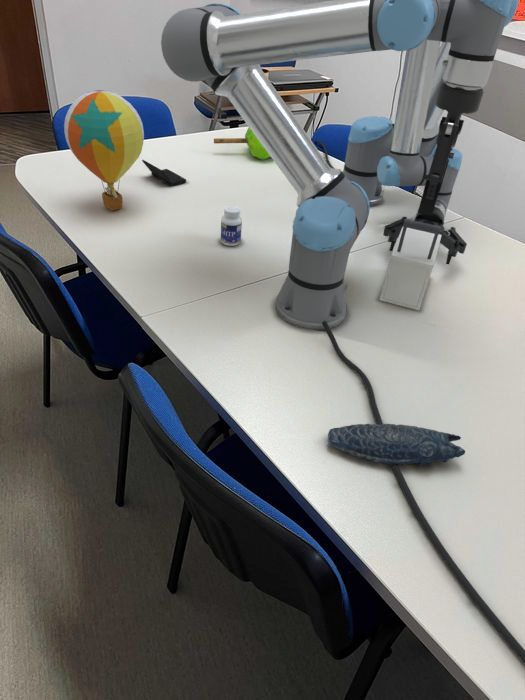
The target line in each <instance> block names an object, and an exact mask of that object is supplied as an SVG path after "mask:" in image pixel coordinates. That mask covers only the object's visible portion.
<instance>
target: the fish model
mask: <svg viewBox="0 0 525 700" xmlns="http://www.w3.org/2000/svg"><path fill="white" fill-rule="evenodd" d="M327 438H328V439H327V440H328V441H327V445H328V446H330V447H333V448H335V449H339V450H341V451H342V452H343V453H346V452H347V453H348V454H349V455H351V456H356V457H357V458H360V459H366V460H369V461H374V462H376V463H380V464H387V465H391V464H396V465H399V466H401V465H409V464H416V465H419V466H427V465H428V464H429V463H433V462H437V461H440V462H441V463H447V462H448V461H449V460H451V459H452V460H453V459H454V458H460V457H463V456H464V455H465V454H466V450H465V449H464V448H462V447H461V446H460V445H457V444H455V443H453V442H456V441H460V440H461V439H462V437H461V436H460V435H456V434H454V433H449V432H443V431H438V430H435V429H431V428H426V427H421V426H420V427H419V426H416V425H407V424H394V423H383V424H377V423H376V424H374V423H373V424H372V423H364V424H363V423H358V424H351V425H344V426H340V427H333V428H330V429H329V431H328V432H327Z"/></svg>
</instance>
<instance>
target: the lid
mask: <svg viewBox="0 0 525 700" xmlns="http://www.w3.org/2000/svg"><path fill="white" fill-rule="evenodd" d="M414 220H415V219H409V218H407V219H405V220H404V223H403V227H402V230H401V232H400V234H399V237H398V238H397V240H396V243H395V246H394V248H393V251H391V253H390V257H389V260H390V259H392V260H396V261H400V262H404V263H409V264H413V265H417V266H421V267H425V268H429V269H432V270H433V269H434V266H435V263H436V258H437V254H438V250H439V247H440V244H441V243H440V240H441V236H442V235H440V234H439V233H440V230H441V226H436V225H432V224H427V223H423V222H418V221H414Z"/></svg>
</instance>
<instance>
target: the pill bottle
mask: <svg viewBox="0 0 525 700" xmlns="http://www.w3.org/2000/svg"><path fill="white" fill-rule="evenodd" d="M242 227H243V219H242V217H241V208H240V207H238V206H235V205H227V206H225V207H224V209H223V215H222V216H221V219H220V242H221V243H222V244H223V245H226V246H229V247H231V246H232V247H234V246H238V245H239V244H240V243H241V241H242Z"/></svg>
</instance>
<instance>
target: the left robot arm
mask: <svg viewBox="0 0 525 700" xmlns="http://www.w3.org/2000/svg"><path fill="white" fill-rule="evenodd" d="M511 2H512V0H327V1H326V0H325V1H319V2H314V3H307V4H300V5H294V6H288V7H281V8H274V9H267V10H262V11H254V12H248V13H242V12H241V11H239V10H238V8H235V7H234V6H231V5H228V4H223V3H209V4H206V5H203V6H198V7H192V8H185V9H181V10H179V11H177V12H175V13H174V14H173V15H171V16H170V18H169V19H168V20H167V22H166V23H165V25H164V26H163V29H162V33H161V40H160V46H161V47H160V48H161V53H162V57H163V60H164V61H165V64H166V65H167V67H168V68H169V69H170V71H171V72H172V73H173V74H174V75H176V76H177V77H178V78H180V79H182V80H184V81H187V82H191V83H192V82H193V83H195V82H198V83H199V82H203V81H205V82H206V83H207V85H208V86H209V87H210V89H211V90H212V91H213V93H214V94H215V95H216V96H220V97H225V98H227V99H228V100H229V102H230V103H231V104H232V106H233V107H234V109H235V110H236V111H237V113H238V114H239V116H240V117H241V118H242V119H243V121H244V122H245V123H246V125H247V126H248V128H250V129H251V130H252V132H253V133H254V134H255V136H256V137H257V138H258V140H259V141H260V143H261V144H262V145H263V147H264V148H265V149H266V151H267V152H268V154H269V155H270V156H271V157H270V158H271V159H272V161H273V162H274V164H276V166H277V167H278V169H279V170H280V172H281V173H282V174H283V176H284V177H285V179H287V181H288V183H289V184H290V185H291V186H292V188H293V190H294V191H295V192H296V194H297V197H296V206H297V209H296V210H295V215H294V218H293V220H292V237H291V243H290V244H291V246H290V254H289V262H288V263H289V264H288V270H287V271H288V272H287V275H286V278H285V279H284V282H283V283H282V285H281V287H280V290H279V291H278V294H277V296H276V300H275V311H276V313H277V315H278V316H279V317H280V318H281V319H282V320H283V321H284V322H286V323H287V324H289V325H291V326H293V327H296V328H300V329H304V330H310V331H324V330H325V333H326V334H327V336H328V338H329V340H330V342H331V345H332V347H333V350H334V351H335V353H336V355H337V356H338V357H339V359H340V360H341V361H342V362H343V363H345V365H346V366H347V367H349V368H350V369H351V370H352V371H353V372H355V373H356V374H357V375H358V376H359V378H360V379H361V381H362V382H363V384H364V385H365V388H366V391H367V395H368V399H369V404H370V408H371V410H372V414H373V417H374V420H375V423H376V424H384V422H383V420H382V416H381V414H380V411H379V408H378V405H377V400H376V397H375V396H376V395H375V393H374V389H373V386H372V384H371V382H370V380H369V378H368V377H367V375H366V374H365V373H364V371H363V370H362V369H361V368H360V367H358V366H357V365H356V364H355V363H353V362H352V361H351V360H350V359H349V358H348V357H347V356H346V355H345V354H344V353H343V351H342V350H341V348H340V347H339V344H338V342H337V339H336V337H335V335H334V333H333V331H332V329H333V328H336V327H337V326H339V325H340V324H342V323H343V322H344V320H345V318H346V315H347V310H348V305H347V297H346V291H347V290H348V284H346V283H344V280H345V275H346V271H347V267H348V266H347V265H348V260H349V257H350V253H351V250H352V248H353V246H354V245H355V242H356V241H357V239H358V238H359V236H360V234H361V232H362V231H363V230H364V229H365V227H366V225H367V222H368V219H369V215H370V209H371V206H370V205H369V199H368V196H367V194H366V192H365V191H364V189H363V188H362V187H361V186H360V185H358V184H357V183H355V182H353V181H349V180H348V179H347V178H346V176H345V175H344V174H343V170H342V169H341V168H335V167H334V168H335V169H334V168H331V167H329V165H328V164H327V161H326V158H324V157H323V155H322V154H321V152H320V151H319V149H318V148H317V146H316V144H315V143H314V141H312V139H311V138H310V137H309V135H308V133H307V132H306V131H305V129H304V128H303V126H302V125H301V124H300V122H299V121H298V119H297V118H296V117H295V115H294V114H293V112H292V111H291V109H290V108H289V106H288V105H287V104H286V102H285V101H284V99H283V98H282V97H281V95H280V94H279V92H278V90H276V88H275V87H274V85H273V84H272V82H271V80H270V79H269V78H268V77H267V75H266V74H265V72H264V71H263V69H262V67H261V65H267V64H269V65H270V64H276V63H286V62H294V61H301V60H303V61H304V60H310V59H319V58H327V57H336V56H344V55H353V54H360V53H361V54H362V53H370V52H371V53H372V52H383V51H396V52H406V50H411V49H414V48H416V47H417V46H419V45H420V44H421V43H422V42H423V41H424V40H433V41H441V42H440V43H442V42H450V43H451V46H450V50H449V53H448V54H449V55H448V60H444V61H443V62H442V65H443V66H446V67H447V68H445V70H444V73H443V77H442V79H443V80H444V81H445V82H444V83H442V84H441V85H440V88H439V91H438V95H437V99H436V106H437V107H438V108H440V109H442V110H444V111H446V112H447V113H446V114H447V115H446V116H441V119H440V122H439V124H438V125H439V133H438V136H437V140H436V145H437V148H436V151H435V154H434V158H433V161H432V165H431V168H430V171H429V174H428V175H424V178H423V179H424V180H427V181H426V184H425V186H424V187H425V188H424V187H423V191H422V195H421V198H420V201H421V202H419V205H418V206H419V207H418V209H417V211H418V213H421V214H425V215H430V216H432V214H433V210H434V207H435V204H436V200H437V197H438V194H439V192H440V189H441V186H442V182H443V179H444V176H445V172H446V169H447V166H448V162H449V159H448V158H450V159H453V156H454V153H451V151H452V149H453V148H454V149H455V147H456V143H457V140H458V138H459V135H460V134H461V132H462V129H463V125H464V123H465V120H464V119H461V118H462V114H466V115H470V114H471V115H472V114H475V113H477V112H478V111H479V108H480V105H481V102H482V99H483V96H484V94H485V93H484V92H485V91H484V89H483V88H484V87H485V86H487V84H488V81H489V78H490V75H491V71H492V68H493V65H494V61H495V57H496V53H497V50H498V47H499V44H500V41H501V38H502V36H503V32H504V29H505V27H506V26H505V23H506V20H507V17H508V13H509V10H510V6H511ZM504 26H505V27H504ZM390 465H391V467H392V470H393V472H394V474H395V477H396V479H397V482H398V483H399V486H400V488H401V490H402V492H403V494H404V496H405V498H406V500H407V502H408V504H409V506H410V508H411V510H412V511H413V513H414V515H415V516H416V518H417V520H418V522H419V524H420V525H421V527H422V528H423V530H424V532H425V533H426V535H427V537H428V539H429V540H430V541H431V543H432V544H433V546H434V548H435V550H436V551H437V553H438V554H439V555H440V557H441V558H442V559H443V561H444V563H445V564H446V565H447V566H448V568H449V569H450V571H451V573H453V575H454V576H455V578H456V579H457V580H458V582H459V584H460V585H461V586H462V587H463V589H464V590H465V591H466V593H467V594H468V595H469V596H470V598H471V599H472V600H473V602H474V603H475V604H476V605H477V607H478V608H479V609H480V611H481V612H482V613H483V614H484V616H485V617H486V618H487V620H488V621H489V622H490V623H491V624H492V626H493V627H494V628H495V629H496V630H497V631H498V633H499V634H500V635H501V636H502V638H503V639H504V640H505V642H506V643H507V644H508V645H509V646H510V647H511V649H512V650H513V651H514V653H516V655H517V656H518V657H519V658H520V660H521V661H522V662H523V663H524V664H525V649H524V647H523V646H522V645H521V644H520V643H519V641H518V640H517V639H516V638H515V637H514V635H513V634H512V633H511V631H509V629H508V628H507V627H506V626H505V624H503V622H502V621H501V620H500V618H499V617H498V616H497V615H496V614H495V612H494V611H493V610H492V609H491V608H490V607H489V605H488V604H487V603H486V601H485V600H484V599H483V597H481V595H480V594H479V593H478V591H477V590H476V589H475V587H474V586H473V585H472V584H471V582H470V581H469V580H468V579H467V577H466V576H465V574H464V573H463V572H462V570H461V569H460V568H459V566H458V565H457V564H456V562H455V561H454V559H453V557H452V556H451V555H450V554H449V552H448V550H446V548H445V547H444V545H443V544H442V542H441V540H440V539H439V537H438V536H437V534H436V533H435V531H434V530H433V528H432V526H431V525H430V523H429V521H428V520H427V517H425V515H424V513H423V512H422V510H421V508H420V506H419V505H418V503H417V500H416V499H415V497H414V495H413V493H412V491H411V488H410V487H409V485H408V483H407V481H406V479H405V476H404V474H403V472H402V470H401V468H400V465H396V464H390Z"/></svg>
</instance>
